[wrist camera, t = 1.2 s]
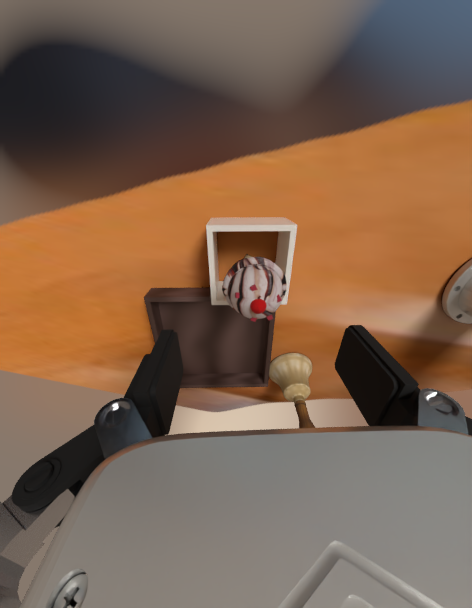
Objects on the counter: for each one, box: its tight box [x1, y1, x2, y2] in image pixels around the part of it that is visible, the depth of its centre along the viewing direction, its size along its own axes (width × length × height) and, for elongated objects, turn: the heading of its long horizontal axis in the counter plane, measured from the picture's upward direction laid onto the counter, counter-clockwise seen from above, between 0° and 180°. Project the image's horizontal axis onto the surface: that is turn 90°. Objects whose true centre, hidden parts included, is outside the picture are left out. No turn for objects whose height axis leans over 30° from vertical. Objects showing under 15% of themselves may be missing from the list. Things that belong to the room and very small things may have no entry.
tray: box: [144, 288, 276, 388], centre depth 34 cm, size 18×18×3 cm
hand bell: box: [269, 353, 315, 428], centre depth 32 cm, size 8×8×16 cm
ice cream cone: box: [222, 254, 287, 322], centre depth 22 cm, size 6×6×15 cm
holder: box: [206, 217, 297, 305], centre depth 26 cm, size 9×9×6 cm
